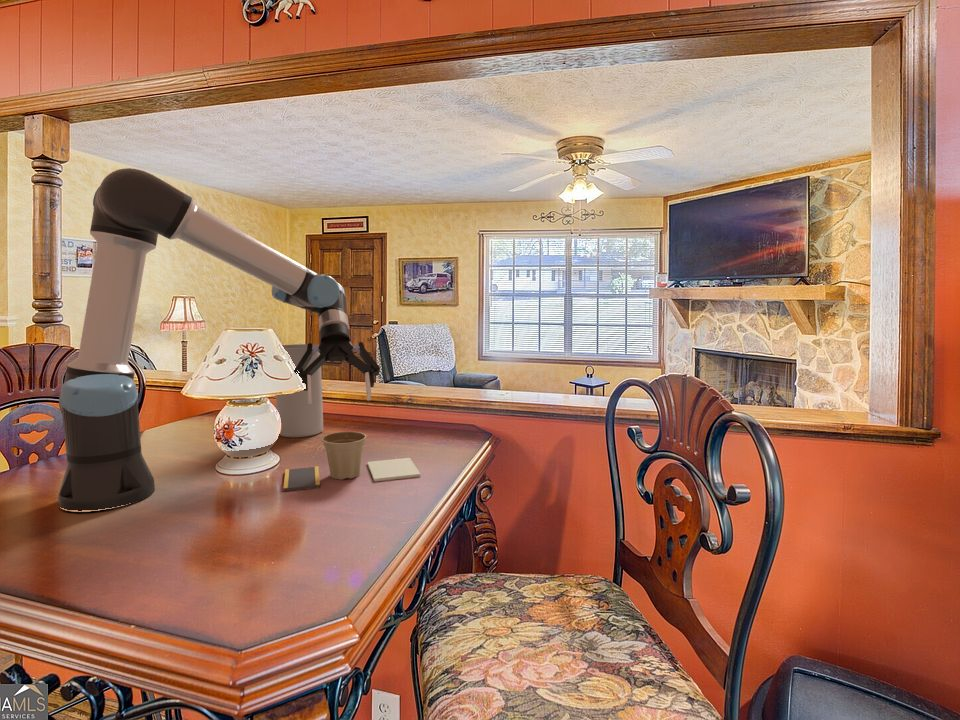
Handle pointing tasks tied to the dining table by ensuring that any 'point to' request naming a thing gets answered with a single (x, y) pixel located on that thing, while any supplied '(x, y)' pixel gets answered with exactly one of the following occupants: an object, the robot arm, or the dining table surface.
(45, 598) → the dining table surface
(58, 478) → the dining table surface
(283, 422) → the cylinder vase
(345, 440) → the flower pot
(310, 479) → the trap mat
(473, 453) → the dining table surface
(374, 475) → the pad
